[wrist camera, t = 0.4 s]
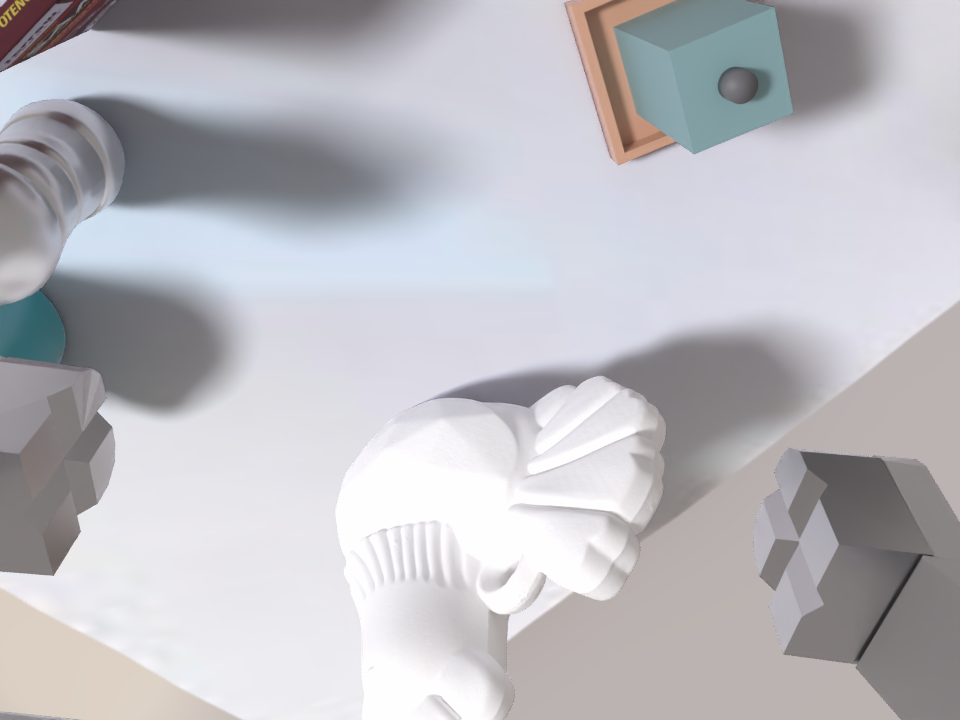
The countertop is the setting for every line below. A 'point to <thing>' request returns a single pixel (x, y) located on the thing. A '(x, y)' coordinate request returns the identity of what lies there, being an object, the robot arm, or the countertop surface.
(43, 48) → the supplement box
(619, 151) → the dish
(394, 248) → the countertop surface
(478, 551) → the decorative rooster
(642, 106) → the cover
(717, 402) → the countertop surface
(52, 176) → the metal bottle
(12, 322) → the cup
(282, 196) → the countertop surface
